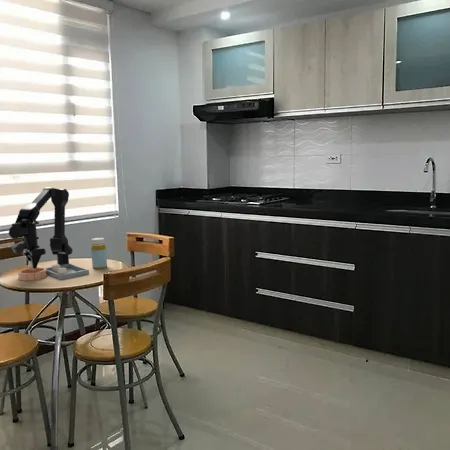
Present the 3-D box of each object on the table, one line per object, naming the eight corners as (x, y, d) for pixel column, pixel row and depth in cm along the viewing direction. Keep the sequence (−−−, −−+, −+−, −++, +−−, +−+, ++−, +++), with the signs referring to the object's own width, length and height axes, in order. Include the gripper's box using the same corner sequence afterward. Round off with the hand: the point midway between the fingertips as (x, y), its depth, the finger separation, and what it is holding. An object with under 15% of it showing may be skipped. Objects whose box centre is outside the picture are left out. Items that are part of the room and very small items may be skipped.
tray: (42, 273, 230) (42, 268, 229) (70, 268, 239) (69, 263, 239) (60, 280, 215) (59, 275, 215) (88, 274, 224) (88, 269, 224)
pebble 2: (51, 273, 227) (50, 265, 227) (58, 272, 230) (58, 264, 229) (54, 274, 225) (54, 266, 224) (62, 273, 227) (61, 265, 227)
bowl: (15, 278, 222) (14, 270, 222) (40, 273, 230) (40, 266, 230) (24, 282, 213) (24, 275, 213) (51, 277, 221) (50, 270, 221)
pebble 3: (57, 277, 220) (56, 268, 220) (64, 275, 223) (64, 267, 222) (60, 278, 217) (60, 269, 217) (68, 276, 220) (67, 268, 219)
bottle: (103, 270, 233) (101, 239, 231) (90, 269, 234) (88, 239, 232) (109, 266, 240) (107, 237, 237) (96, 266, 241) (94, 237, 239)
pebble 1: (27, 269, 223) (27, 260, 223) (35, 267, 226) (34, 259, 225) (30, 270, 221) (30, 262, 220) (38, 269, 223) (37, 260, 222)
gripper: (5, 235, 222) (8, 267, 225) (19, 239, 209) (23, 274, 211) (29, 232, 230) (32, 263, 232) (44, 236, 216) (47, 269, 218)
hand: (33, 267), depth 223 cm, fingers closed on pebble 1, 4 cm apart
